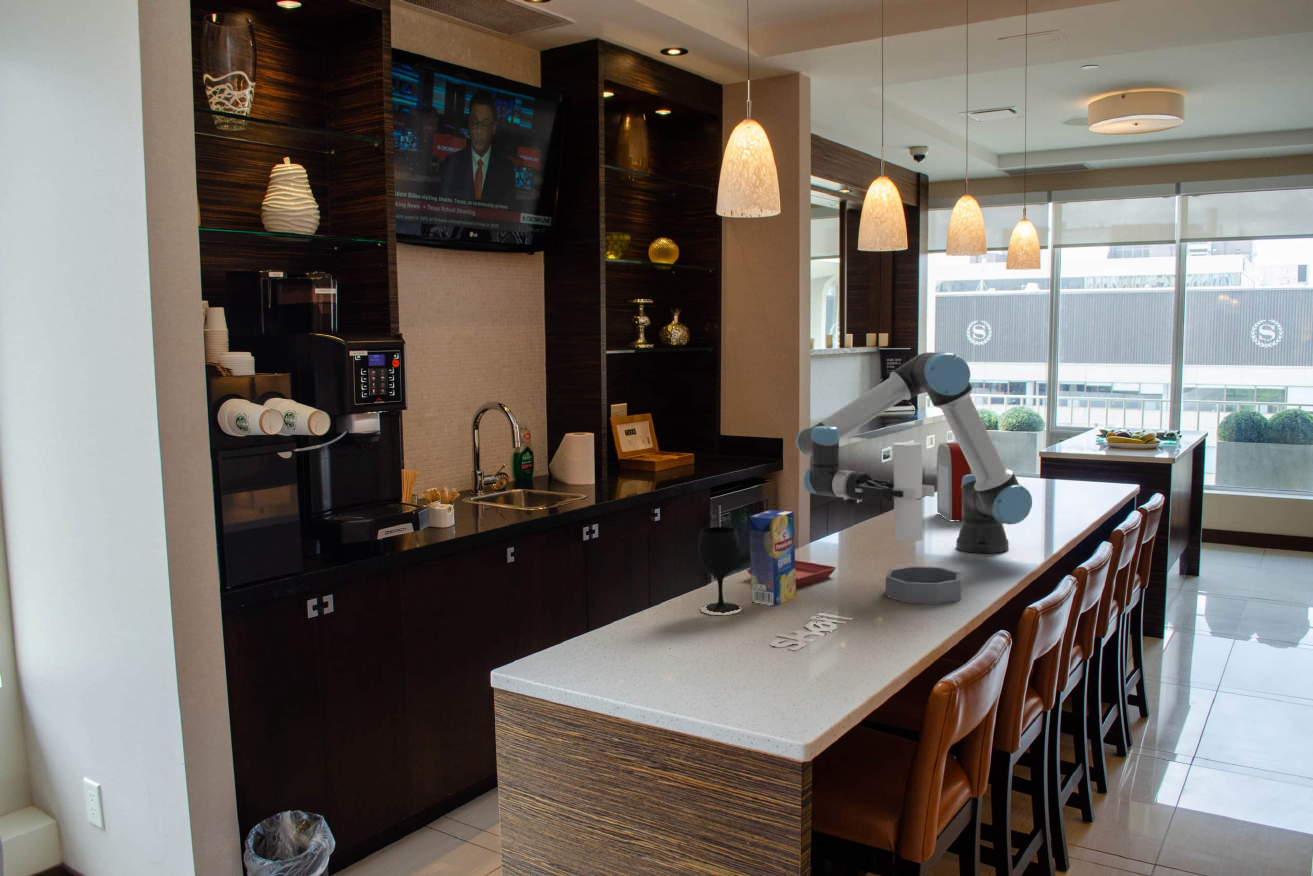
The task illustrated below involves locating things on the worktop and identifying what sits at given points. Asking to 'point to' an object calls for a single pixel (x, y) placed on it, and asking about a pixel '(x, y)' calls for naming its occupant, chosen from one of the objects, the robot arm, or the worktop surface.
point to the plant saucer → (809, 572)
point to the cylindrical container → (908, 477)
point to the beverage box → (772, 557)
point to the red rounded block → (951, 479)
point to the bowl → (924, 585)
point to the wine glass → (719, 559)
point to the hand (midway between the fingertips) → (924, 493)
